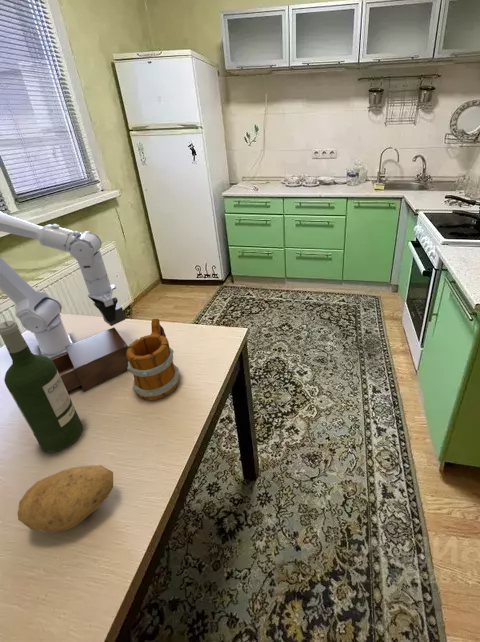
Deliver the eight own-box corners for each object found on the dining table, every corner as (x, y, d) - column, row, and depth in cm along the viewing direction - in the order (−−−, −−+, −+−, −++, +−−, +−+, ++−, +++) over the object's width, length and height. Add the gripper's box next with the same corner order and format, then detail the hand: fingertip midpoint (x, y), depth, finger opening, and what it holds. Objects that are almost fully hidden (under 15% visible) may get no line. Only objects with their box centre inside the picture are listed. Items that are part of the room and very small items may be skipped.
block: (104, 321, 97) (100, 308, 95) (118, 314, 100) (115, 302, 98) (111, 326, 95) (107, 313, 93) (125, 319, 98) (122, 307, 96)
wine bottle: (86, 438, 70) (34, 325, 57) (43, 460, 66) (-25, 344, 53) (80, 415, 76) (31, 307, 63) (39, 434, 72) (-22, 323, 58)
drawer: (24, 414, 75) (14, 397, 73) (19, 390, 82) (10, 372, 80) (100, 379, 85) (93, 362, 82) (89, 359, 92) (83, 343, 89)
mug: (129, 404, 78) (112, 356, 72) (149, 358, 93) (136, 315, 86) (174, 400, 79) (162, 352, 72) (187, 355, 94) (177, 312, 87)
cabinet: (84, 391, 83) (74, 368, 79) (73, 368, 90) (64, 346, 87) (134, 367, 90) (127, 345, 87) (120, 347, 98) (114, 327, 94)
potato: (117, 524, 55) (104, 497, 52) (21, 557, 52) (0, 530, 48) (124, 470, 64) (113, 444, 60) (41, 495, 60) (25, 469, 56)
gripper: (119, 280, 87) (131, 321, 93) (103, 264, 97) (115, 302, 103) (90, 289, 83) (105, 332, 89) (77, 271, 93) (91, 311, 99)
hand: (109, 317), depth 96 cm, fingers closed on block, 4 cm apart
